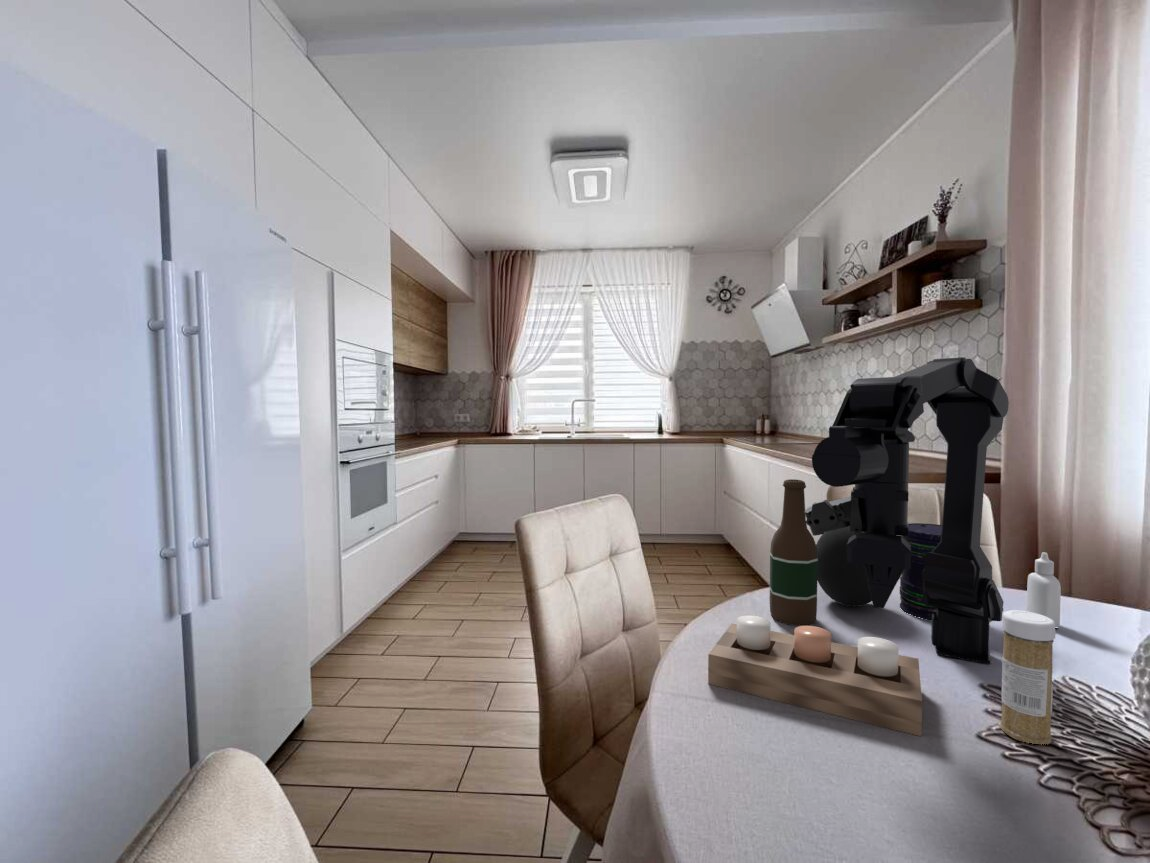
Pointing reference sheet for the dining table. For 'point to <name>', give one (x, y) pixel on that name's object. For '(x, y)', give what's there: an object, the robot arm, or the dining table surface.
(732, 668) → the knob mount
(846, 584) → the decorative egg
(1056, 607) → the eye dropper bottle
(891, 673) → the knob
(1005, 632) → the sprinkles bottle
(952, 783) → the dining table surface
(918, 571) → the storage jar
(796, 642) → the middle knob
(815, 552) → the beer bottle
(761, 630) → the knob
